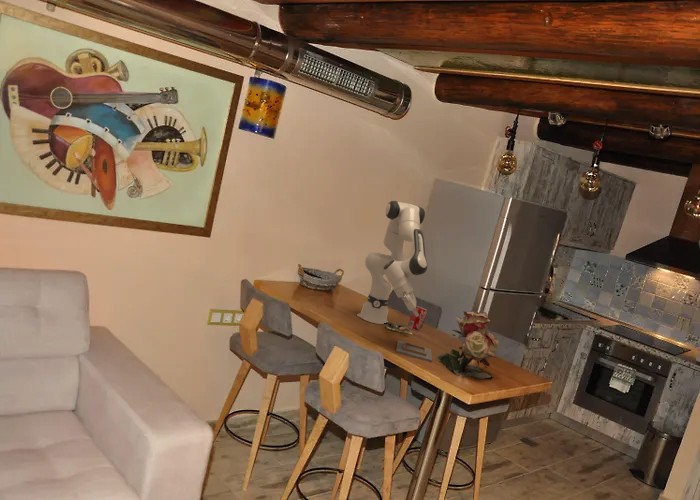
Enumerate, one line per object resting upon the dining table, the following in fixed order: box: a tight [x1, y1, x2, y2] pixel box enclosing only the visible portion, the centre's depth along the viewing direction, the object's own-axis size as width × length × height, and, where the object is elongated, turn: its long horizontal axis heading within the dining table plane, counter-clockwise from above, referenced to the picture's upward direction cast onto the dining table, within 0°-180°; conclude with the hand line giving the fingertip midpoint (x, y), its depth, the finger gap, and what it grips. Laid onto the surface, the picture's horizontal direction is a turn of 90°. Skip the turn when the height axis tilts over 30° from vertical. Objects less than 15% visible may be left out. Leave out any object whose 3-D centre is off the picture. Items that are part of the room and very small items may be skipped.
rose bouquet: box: [436, 310, 501, 380], centre depth 307 cm, size 26×29×30 cm
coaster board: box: [395, 340, 433, 363], centre depth 316 cm, size 20×18×2 cm
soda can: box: [407, 305, 428, 332], centre depth 313 cm, size 7×7×12 cm
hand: (417, 314), depth 313 cm, fingers closed on soda can, 7 cm apart
